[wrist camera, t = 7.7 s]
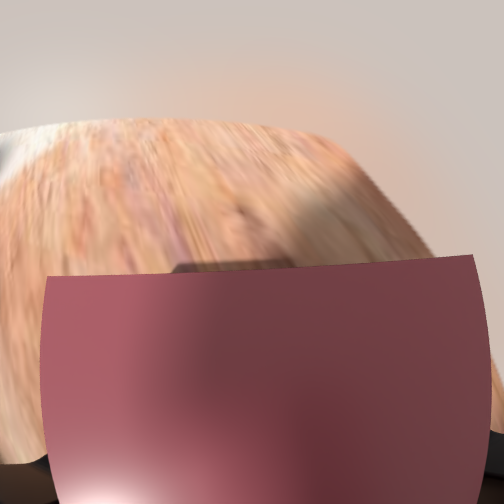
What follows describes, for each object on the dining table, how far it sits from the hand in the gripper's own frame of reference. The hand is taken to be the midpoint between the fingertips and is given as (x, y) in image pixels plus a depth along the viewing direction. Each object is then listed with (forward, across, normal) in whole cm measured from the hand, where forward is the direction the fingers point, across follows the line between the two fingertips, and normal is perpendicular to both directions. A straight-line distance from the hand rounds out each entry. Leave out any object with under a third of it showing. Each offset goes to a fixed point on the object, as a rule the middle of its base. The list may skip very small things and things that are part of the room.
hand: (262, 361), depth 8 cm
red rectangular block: (+4, 0, +6) cm, 7 cm away
